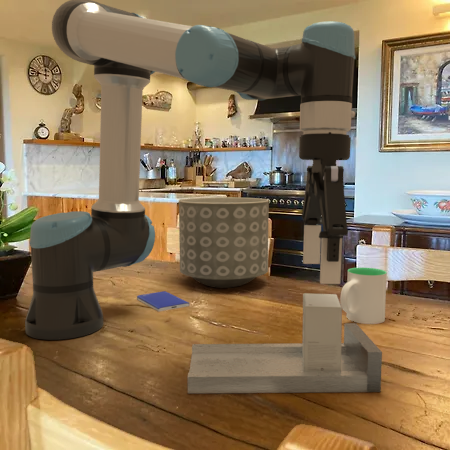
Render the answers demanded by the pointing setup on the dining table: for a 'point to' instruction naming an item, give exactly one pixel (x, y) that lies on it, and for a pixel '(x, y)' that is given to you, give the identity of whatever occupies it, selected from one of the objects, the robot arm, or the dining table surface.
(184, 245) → the planter
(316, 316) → the small box
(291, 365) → the tray
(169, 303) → the hard drive
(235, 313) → the dining table surface
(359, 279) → the mug
